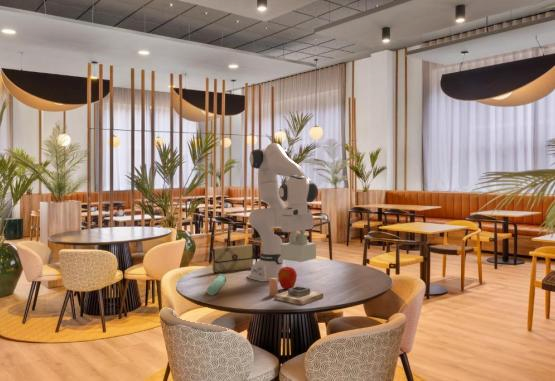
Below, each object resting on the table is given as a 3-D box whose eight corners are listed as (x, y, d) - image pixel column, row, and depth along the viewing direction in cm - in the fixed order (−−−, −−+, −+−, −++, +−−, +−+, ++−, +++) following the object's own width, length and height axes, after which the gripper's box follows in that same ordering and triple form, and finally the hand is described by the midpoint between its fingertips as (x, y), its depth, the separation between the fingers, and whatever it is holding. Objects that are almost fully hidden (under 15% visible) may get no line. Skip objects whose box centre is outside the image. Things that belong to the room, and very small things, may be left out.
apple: (274, 289, 235) (274, 265, 234) (287, 286, 241) (286, 263, 241) (287, 292, 228) (287, 268, 228) (300, 289, 235) (300, 265, 234)
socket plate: (274, 299, 216) (274, 289, 216) (296, 292, 229) (296, 283, 229) (302, 305, 206) (302, 294, 206) (323, 297, 218) (323, 287, 218)
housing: (280, 259, 216) (280, 235, 216) (296, 255, 225) (295, 232, 225) (300, 262, 209) (300, 237, 208) (316, 258, 218) (315, 234, 217)
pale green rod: (214, 283, 224) (224, 271, 249) (203, 288, 224) (213, 276, 249) (219, 294, 224) (228, 282, 249) (208, 299, 224) (218, 286, 249)
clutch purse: (214, 275, 271) (214, 249, 270) (209, 273, 277) (209, 247, 276) (259, 269, 286) (259, 244, 286) (254, 267, 292) (253, 243, 292)
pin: (267, 295, 223) (267, 278, 223) (273, 293, 226) (272, 277, 226) (274, 296, 221) (273, 279, 220) (279, 295, 224) (279, 278, 223)
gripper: (305, 208, 226) (306, 237, 227) (278, 211, 210) (278, 242, 211) (316, 209, 222) (316, 238, 222) (289, 212, 206) (289, 243, 207)
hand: (298, 240), depth 217 cm, fingers closed on housing, 3 cm apart
